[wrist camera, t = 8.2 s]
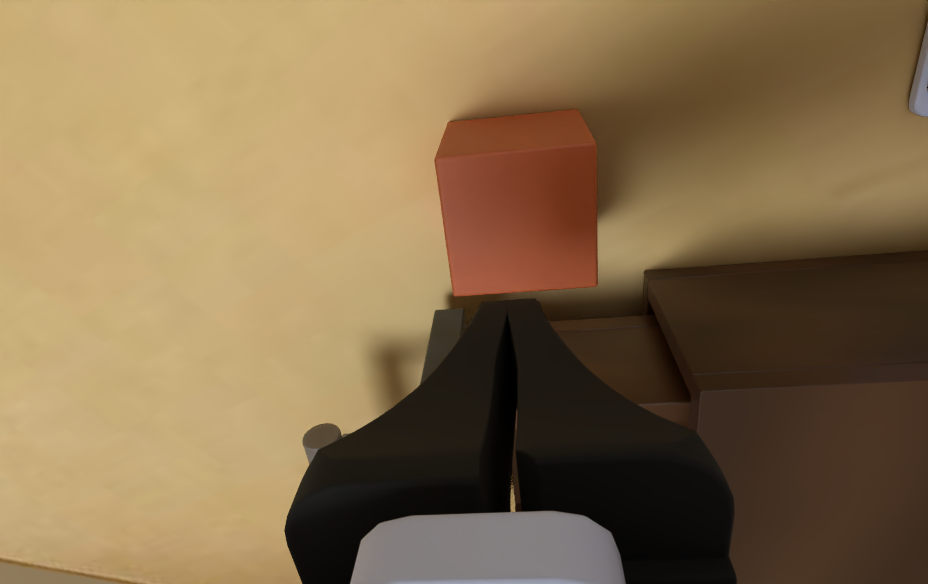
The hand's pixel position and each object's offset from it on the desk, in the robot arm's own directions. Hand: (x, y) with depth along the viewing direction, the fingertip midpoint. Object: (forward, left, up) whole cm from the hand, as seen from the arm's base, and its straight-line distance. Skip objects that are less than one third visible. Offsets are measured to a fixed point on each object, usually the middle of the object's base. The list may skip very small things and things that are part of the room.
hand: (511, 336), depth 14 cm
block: (-1, 0, -9) cm, 9 cm away
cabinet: (+10, +12, -9) cm, 18 cm away
